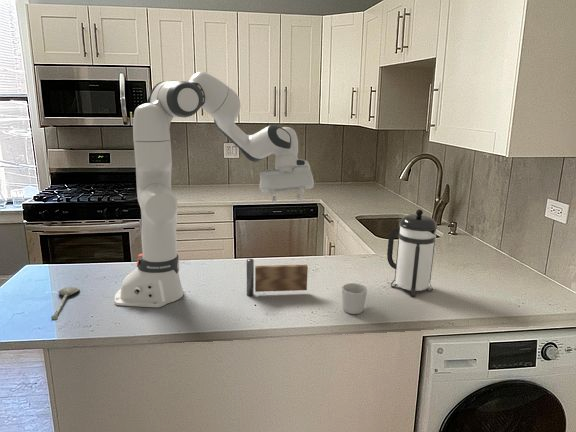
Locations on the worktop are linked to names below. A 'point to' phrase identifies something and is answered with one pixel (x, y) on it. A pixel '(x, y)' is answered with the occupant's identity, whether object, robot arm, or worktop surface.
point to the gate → (281, 278)
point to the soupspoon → (65, 293)
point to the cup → (353, 298)
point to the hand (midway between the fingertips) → (286, 200)
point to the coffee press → (413, 252)
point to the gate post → (250, 277)
